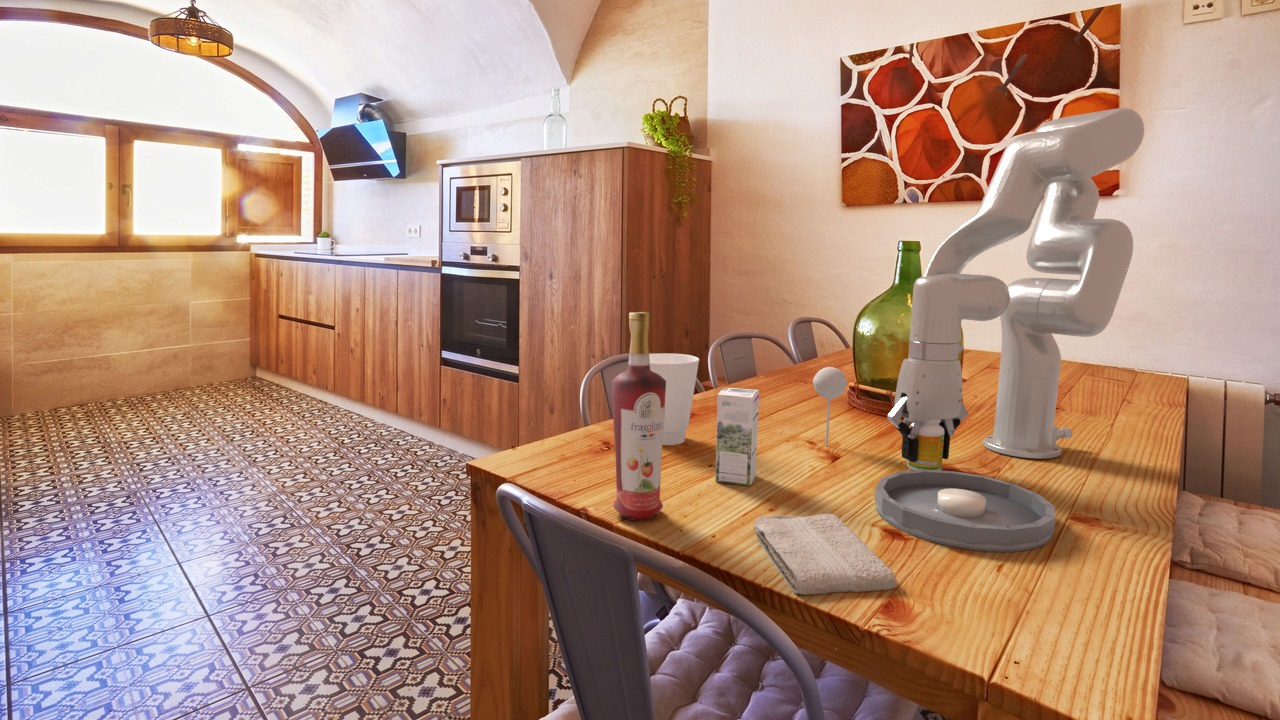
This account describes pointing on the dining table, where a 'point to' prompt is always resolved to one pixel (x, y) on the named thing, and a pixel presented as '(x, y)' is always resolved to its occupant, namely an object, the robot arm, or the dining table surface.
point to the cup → (676, 392)
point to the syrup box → (737, 435)
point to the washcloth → (821, 555)
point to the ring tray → (965, 510)
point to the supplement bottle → (929, 446)
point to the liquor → (638, 428)
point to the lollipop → (829, 387)
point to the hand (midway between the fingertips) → (924, 457)
